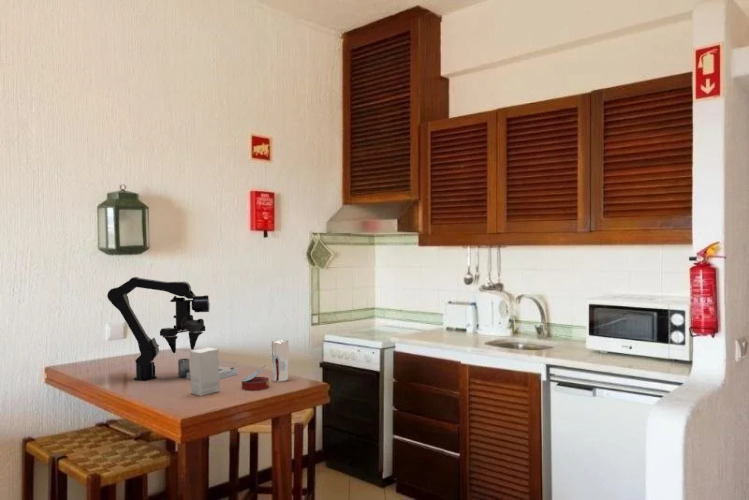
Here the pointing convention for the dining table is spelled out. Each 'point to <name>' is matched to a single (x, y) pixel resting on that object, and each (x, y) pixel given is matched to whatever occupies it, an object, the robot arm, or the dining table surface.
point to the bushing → (183, 367)
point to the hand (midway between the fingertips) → (183, 351)
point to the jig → (222, 372)
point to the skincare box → (204, 371)
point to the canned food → (255, 381)
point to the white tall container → (280, 360)
